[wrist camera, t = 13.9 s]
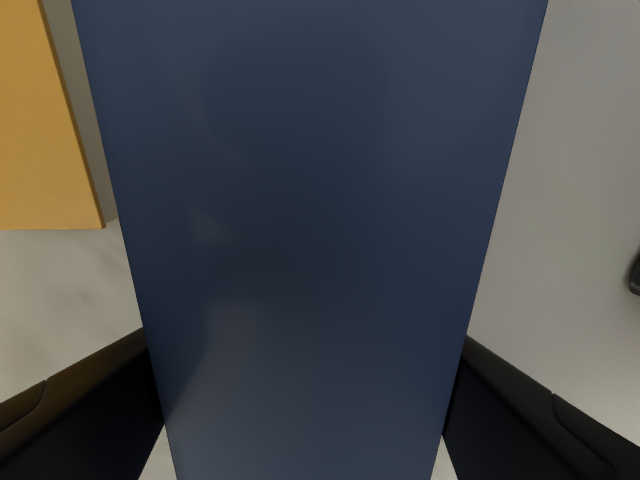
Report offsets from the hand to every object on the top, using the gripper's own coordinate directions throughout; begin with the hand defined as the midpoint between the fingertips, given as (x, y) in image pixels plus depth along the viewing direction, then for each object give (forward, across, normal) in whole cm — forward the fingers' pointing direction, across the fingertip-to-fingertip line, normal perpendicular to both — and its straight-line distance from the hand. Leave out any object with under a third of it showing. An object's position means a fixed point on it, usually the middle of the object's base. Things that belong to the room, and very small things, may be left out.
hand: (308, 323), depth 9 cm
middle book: (+1, 0, 0) cm, 1 cm away
